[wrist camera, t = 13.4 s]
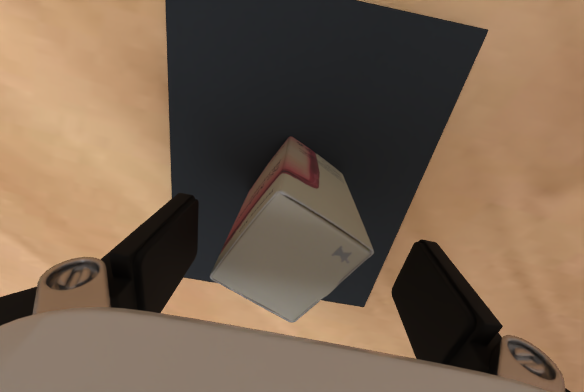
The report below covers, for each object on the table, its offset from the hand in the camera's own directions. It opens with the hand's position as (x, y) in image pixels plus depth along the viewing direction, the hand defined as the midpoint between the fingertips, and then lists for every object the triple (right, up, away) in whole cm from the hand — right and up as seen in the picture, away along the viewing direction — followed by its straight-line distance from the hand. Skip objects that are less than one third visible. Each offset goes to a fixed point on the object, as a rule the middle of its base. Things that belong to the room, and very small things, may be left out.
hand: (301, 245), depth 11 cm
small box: (0, +3, +6) cm, 6 cm away
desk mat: (0, +3, +6) cm, 7 cm away
